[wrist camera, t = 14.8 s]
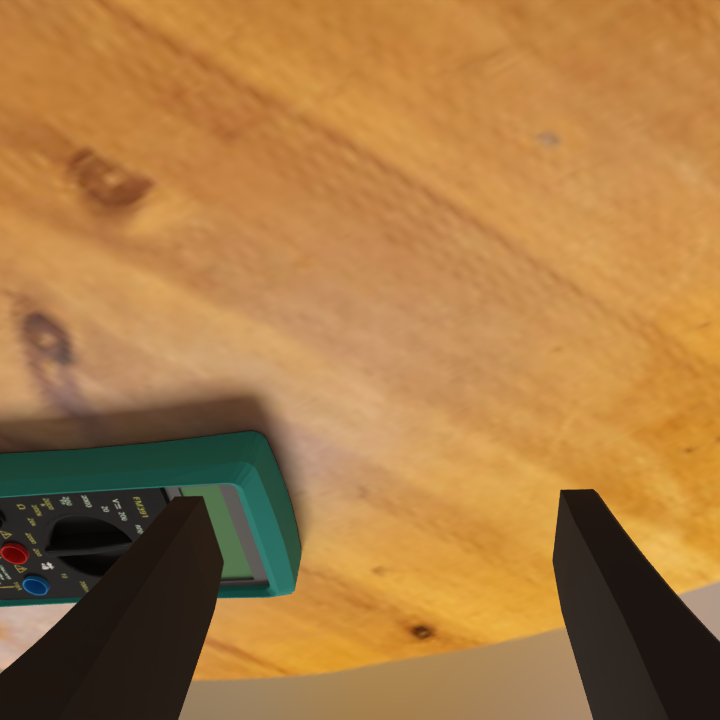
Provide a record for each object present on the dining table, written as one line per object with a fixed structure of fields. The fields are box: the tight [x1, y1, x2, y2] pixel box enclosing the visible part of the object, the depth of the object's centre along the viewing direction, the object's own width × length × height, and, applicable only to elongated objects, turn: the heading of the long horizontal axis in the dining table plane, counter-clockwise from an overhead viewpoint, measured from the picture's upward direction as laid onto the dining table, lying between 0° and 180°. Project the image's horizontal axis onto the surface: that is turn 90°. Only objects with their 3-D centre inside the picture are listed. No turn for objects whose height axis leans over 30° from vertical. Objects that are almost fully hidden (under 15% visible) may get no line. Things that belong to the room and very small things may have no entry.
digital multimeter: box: [0, 431, 301, 607], centre depth 26 cm, size 8×16×3 cm, turn 99°
